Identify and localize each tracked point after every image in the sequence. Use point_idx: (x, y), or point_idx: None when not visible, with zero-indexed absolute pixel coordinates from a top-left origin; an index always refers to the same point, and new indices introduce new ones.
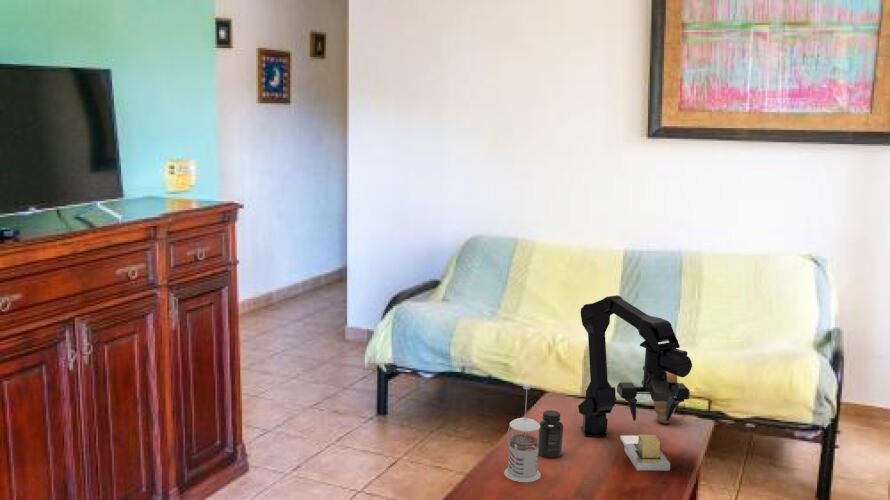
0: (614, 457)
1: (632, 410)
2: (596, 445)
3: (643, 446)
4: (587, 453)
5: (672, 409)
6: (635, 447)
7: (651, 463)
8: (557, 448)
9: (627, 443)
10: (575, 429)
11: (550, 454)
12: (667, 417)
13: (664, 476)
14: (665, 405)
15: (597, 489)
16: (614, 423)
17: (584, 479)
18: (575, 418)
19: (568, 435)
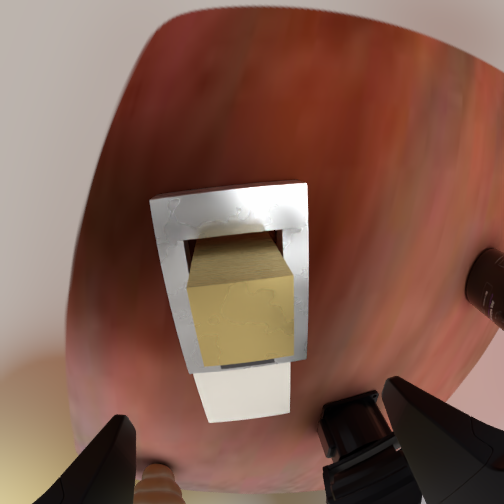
0: (350, 284)
1: (468, 417)
2: (371, 353)
3: (283, 263)
4: (415, 296)
5: (63, 490)
6: None
7: (240, 189)
8: (499, 261)
9: (282, 377)
10: None
11: (498, 250)
12: (118, 437)
13: (190, 134)
14: (156, 500)
15: (436, 53)
16: (277, 456)
17: (460, 118)
18: None
19: None
